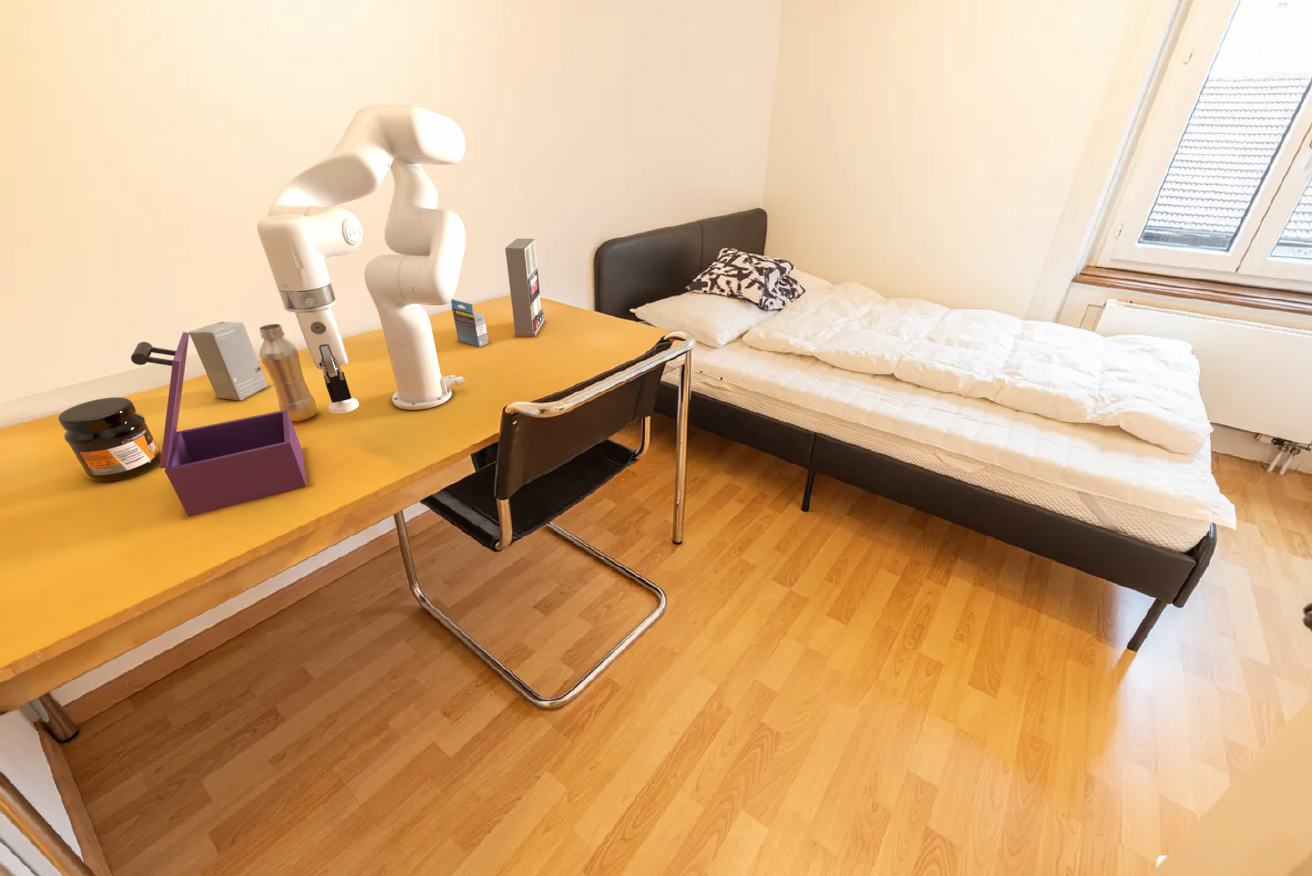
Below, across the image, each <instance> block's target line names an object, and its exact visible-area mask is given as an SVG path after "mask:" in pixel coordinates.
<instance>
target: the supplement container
mask: <svg viewBox="0 0 1312 876" xmlns="http://www.w3.org/2000/svg"><path fill="white" fill-rule="evenodd" d="M57 420H58V422H59V425H61V427H62V429H63V430H65V431H64V434H63V437H64V440H65V442H66V443H67V444H68V445H69V446H70V448H71V450H72V451H73V453H74V455H75V457H76V458H77V460H78V462H79V463H80V465H81V466H82V468H83V470H84V473H85V474H86V476H87V477H88V478H90V479H91V480H94V481H97V482H115V481H121V480H126V479H130V478H132V477H136V476H139V475H141V474H143V473H146V472H148V471H150V470H151V469H152V468H154V467H155V466H156V465H157V464H158V463H159V462H161V455H162V450H161V449H160V448H159V447H158V445H157V442H156V441H155V438H154V437H153V436H154V435H152V432H151V431H150V428H149V427H148V424H147V422H146V418H145V417H144V415H142V414H141V413H139V412H137V409H136V407H135V405H134V402H133V401H132V400H131V399H130V398H127V397H121V396H119V397H117V396H115V397H105V398H103V397H102V398H98V399H93V400H89V401H85V402H82V403H79V404H76V405H74V406H72V407H69V408H67V409H66V410H64V411H62V412H61V413H60V414H59V415H58V416H57Z"/></svg>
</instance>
